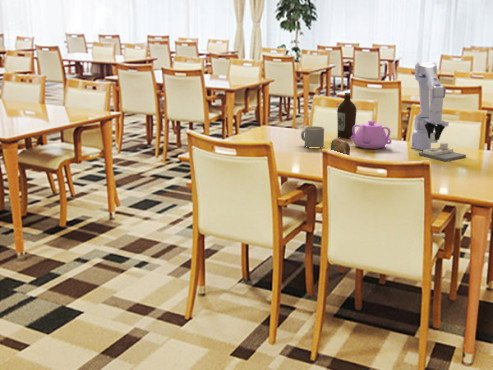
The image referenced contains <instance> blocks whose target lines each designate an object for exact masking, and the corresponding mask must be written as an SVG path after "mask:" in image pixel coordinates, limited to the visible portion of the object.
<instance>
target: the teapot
mask: <svg viewBox="0 0 493 370" xmlns="http://www.w3.org/2000/svg"><path fill="white" fill-rule="evenodd" d="M375 122H376V121H375V120H368V123H362V124H358V123H357V124H355V125H354V126H353V128H352V132H353V136H351V138H350V140H351V141H352V142H354V144H355V145H356V146H357V147H358V148H361V149H371V150H372V149H373V150H377V149H382V148H384V147H385V146H386V145H390V144H392V139H390V135H391V129H390V128H389V127H388V126H383V125H381V124H380V123H375ZM356 127H358V129H357V130H356ZM385 130H386V131H387V133H386V131H385ZM353 137H354V138H353Z"/></svg>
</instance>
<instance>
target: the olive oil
mask: <svg viewBox="0 0 493 370" xmlns="http://www.w3.org/2000/svg"><path fill="white" fill-rule="evenodd" d="M336 112H337V115H336V117H337V118H336V119H337V138H338V137H340V138H339V139H343V138H346V139H348V138H350V139H351V136H353V132H352V128H353V126H354V125H356V123H357V122H356V119H357V107H356V105H355V104H354V101H352V100H351V93H350V92H344V97H343V101H342V102H340V104H339V105H338V107H337V111H336ZM346 139H345V140H346ZM353 139H354V137H353ZM348 140H349V139H348Z"/></svg>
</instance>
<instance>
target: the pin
mask: <svg viewBox="0 0 493 370" xmlns="http://www.w3.org/2000/svg"><path fill="white" fill-rule="evenodd" d="M430 142H431V144H432V143H433V144H438V140H435V131H433V132H431V133H430Z"/></svg>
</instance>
